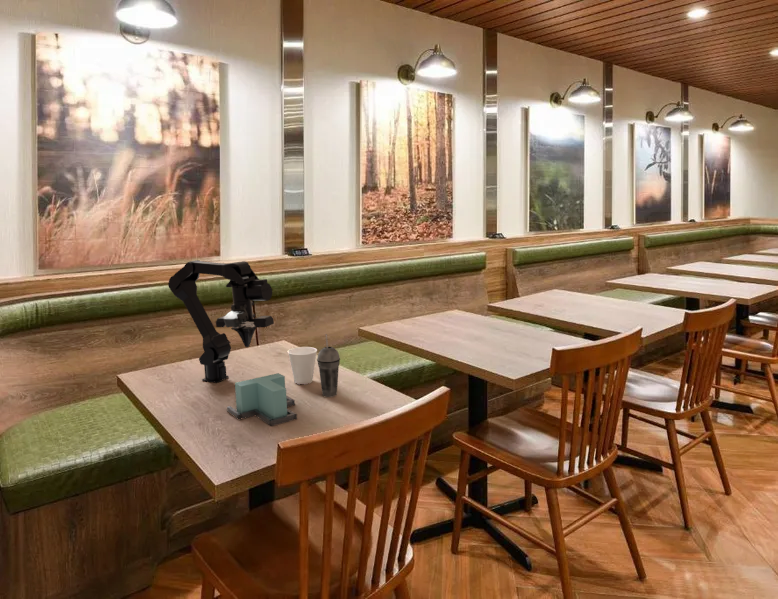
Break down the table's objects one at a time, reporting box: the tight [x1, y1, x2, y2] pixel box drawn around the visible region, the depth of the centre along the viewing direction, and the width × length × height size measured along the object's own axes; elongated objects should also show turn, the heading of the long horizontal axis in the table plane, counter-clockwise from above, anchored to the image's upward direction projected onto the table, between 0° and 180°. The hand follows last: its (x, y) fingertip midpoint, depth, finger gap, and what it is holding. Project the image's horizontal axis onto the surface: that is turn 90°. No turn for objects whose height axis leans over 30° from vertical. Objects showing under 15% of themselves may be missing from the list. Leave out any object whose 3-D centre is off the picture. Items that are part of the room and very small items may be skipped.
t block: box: [234, 372, 288, 419], centre depth 168 cm, size 14×14×9 cm
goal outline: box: [226, 395, 298, 427], centre depth 169 cm, size 18×18×2 cm
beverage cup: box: [316, 333, 341, 398], centre depth 182 cm, size 7×7×20 cm
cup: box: [287, 346, 318, 385], centre depth 195 cm, size 10×10×11 cm
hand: (247, 347), depth 191 cm, fingers closed
